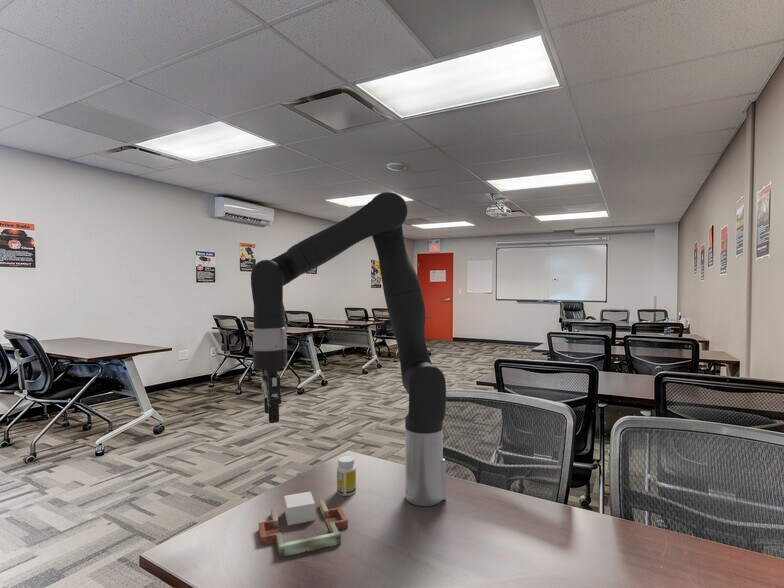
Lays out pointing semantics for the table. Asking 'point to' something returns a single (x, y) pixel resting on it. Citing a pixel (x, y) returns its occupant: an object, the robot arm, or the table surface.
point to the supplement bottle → (346, 476)
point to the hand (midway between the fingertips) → (271, 417)
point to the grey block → (299, 508)
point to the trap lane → (334, 521)
